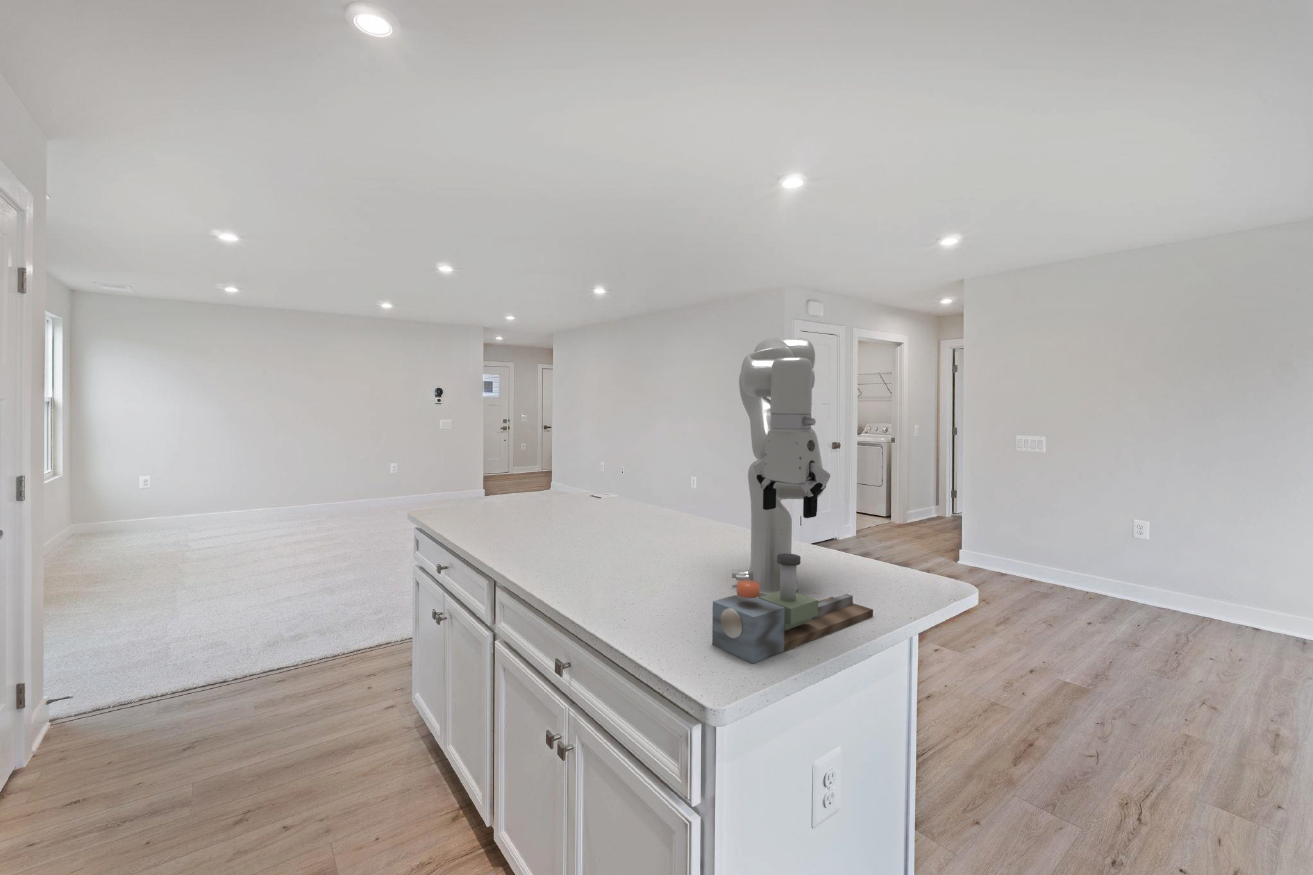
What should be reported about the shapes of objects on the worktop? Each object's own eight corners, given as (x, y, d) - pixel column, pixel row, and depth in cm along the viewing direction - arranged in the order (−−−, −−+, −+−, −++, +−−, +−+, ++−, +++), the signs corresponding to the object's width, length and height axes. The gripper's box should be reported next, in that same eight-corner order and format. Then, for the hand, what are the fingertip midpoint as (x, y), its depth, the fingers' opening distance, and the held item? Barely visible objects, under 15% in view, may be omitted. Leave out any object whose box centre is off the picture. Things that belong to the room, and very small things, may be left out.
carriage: (790, 632, 104) (791, 564, 103) (757, 620, 110) (758, 555, 109) (817, 623, 109) (819, 557, 108) (784, 611, 115) (785, 549, 114)
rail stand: (751, 664, 96) (752, 617, 96) (710, 644, 104) (711, 601, 104) (872, 616, 119) (873, 578, 118) (831, 603, 127) (832, 567, 126)
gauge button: (748, 599, 99) (748, 588, 99) (732, 593, 103) (732, 582, 102) (764, 595, 102) (764, 584, 102) (747, 589, 105) (747, 578, 105)
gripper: (842, 424, 103) (839, 518, 104) (768, 421, 117) (767, 504, 118) (816, 425, 98) (814, 523, 100) (743, 422, 112) (742, 508, 113)
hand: (788, 512), depth 109 cm, fingers open, 9 cm apart
